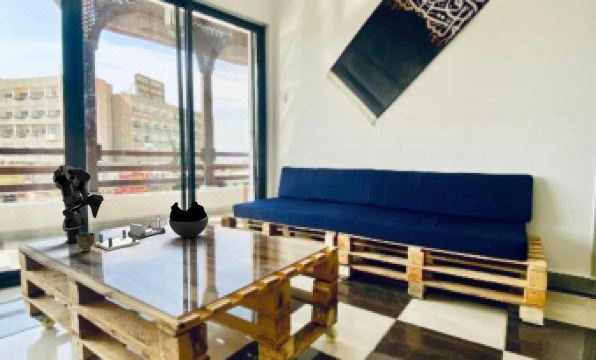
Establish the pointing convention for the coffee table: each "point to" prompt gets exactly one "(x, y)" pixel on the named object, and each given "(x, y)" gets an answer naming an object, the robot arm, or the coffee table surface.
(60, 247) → the coffee table surface
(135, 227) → the toy car
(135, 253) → the coffee table surface
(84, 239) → the dark brown ornate lampshade
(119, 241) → the peg stand
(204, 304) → the coffee table surface
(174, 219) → the coal bowl
